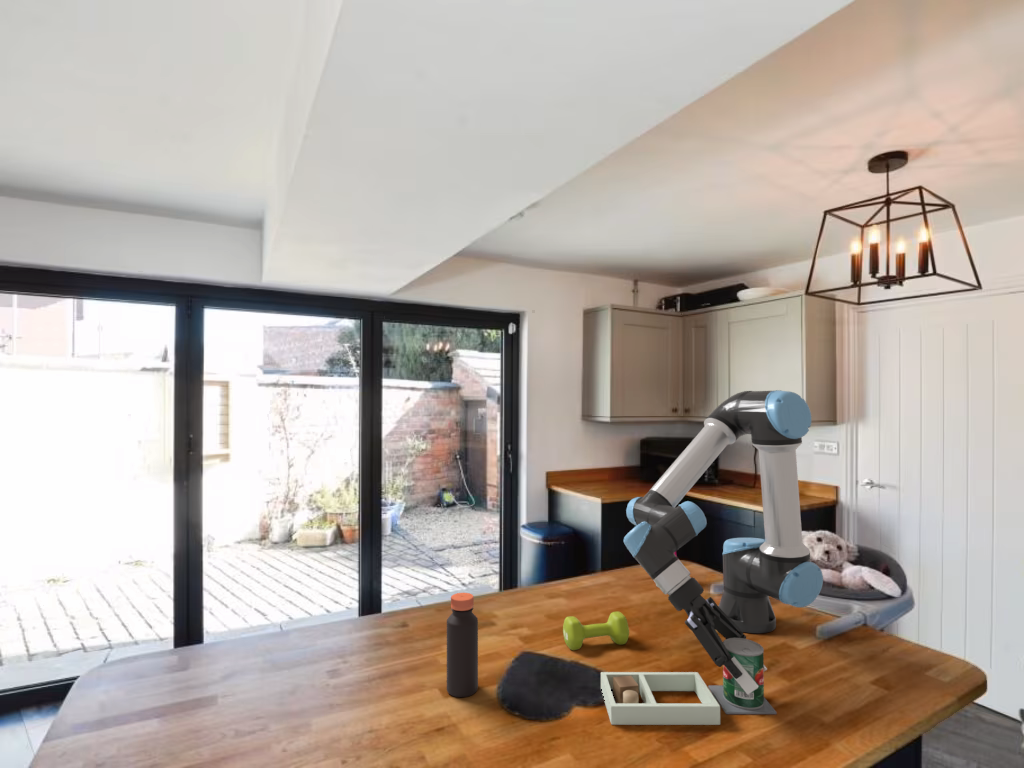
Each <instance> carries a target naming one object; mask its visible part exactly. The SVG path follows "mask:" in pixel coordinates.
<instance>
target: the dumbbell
mask: <svg viewBox="0 0 1024 768" xmlns="http://www.w3.org/2000/svg"><path fill="white" fill-rule="evenodd" d="M608 616H609V617H608V619H607V622H605V623H603V622H601V623H591V624H586V625H585V624H584V625H583V624H582V623H581V621H580V620H579V619H578V618H577V617H576V616H573V615H572V616H570V615H569V616H566V617H565V618H564V620H563V626H562V633H563V634H562V635H563V639H564V642H565V644H566V646H567V648H568V649H570V650H571V651H578V650H580V649H581V648H582V646H583V643H584V640H585V639H590V638H591V639H592V638H596V637H605V636H607V637H610V639H611V641H613V642H614V643H615V644H617V645H625V644H626V643H627V642H628V640H629V637H630V629H629V623H628V619H627V617H626V616H625V615H624V614H623V613H622V612H620V611H612V612H611V613H610V614H609V615H608Z"/></svg>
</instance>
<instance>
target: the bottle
mask: <svg viewBox="0 0 1024 768" xmlns="http://www.w3.org/2000/svg"><path fill="white" fill-rule="evenodd" d="M474 599H475V598H474V595H473V594H472V593H470V592H457V593H454V594H453V595H451V597H450V607H451V608H450V609H451V610H450V611H452V613H451V614H450V615H449V617H447V619H446V691H447V693H448V694H449V695H451V696H452V697H455V698H467V697H470V696H472V695H474V694H475V693H476V692H477V691H478V687H479V620H478V617H477V615H475V613H474V612H473V610H474V607H475V606H474V603H475V602H474Z"/></svg>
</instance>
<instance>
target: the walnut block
mask: <svg viewBox="0 0 1024 768" xmlns="http://www.w3.org/2000/svg"><path fill="white" fill-rule="evenodd" d="M626 690H633V691H636V692H637V693H638V703H639V702H640V700H639V695H640V693H639V687H638V684H637V683H636V681H635V680H634V679H633V678H632V676H622V677H613V691H612V694H613V695H614V696H613V697H615V698H614V700H615V702H616V703H623V692H624V691H626Z"/></svg>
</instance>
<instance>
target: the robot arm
mask: <svg viewBox="0 0 1024 768" xmlns="http://www.w3.org/2000/svg"><path fill="white" fill-rule="evenodd" d="M703 425H704V427H702V429H701V430H700V431H699V432H698V434H697V435H696V436H695V437H694V438H693V439H692V440H691V442H690V443H689V444H688V445H687V446H686V448H685V449H684V450H683V451H682V452H681V453H680V454H679V455H678V457H677V458H676V459H675V460H674V461H673V462H672V463H671V465H670V466H669V467H668V468H667V469H666V471H665V472H663V474H662V475H661V476H660V477H659V479H658V480H657V481H656V482H655V483H654V484H653V486H652V487H651V488H650V489H649V490H648V492H647V493H646V494H644V496H643V497H642V496H636V497H634V498H632V499H631V500H629V502H628V503H627V507H626V509H625V511H626V512H625V513H626V517H627V519H628V521H629V522H630V523H631V524H632V525H634V527H633V528H632V529H631V530H629V532H627V534H626V535H625V536H624V537H623V543H624V545H625V547H626V549H627V550H628V551H629V553H630V554H631V555H632V557H633V558H634V559H635V560H636V561H637V562H638V564H639V565H640V566H641V567H642V569H643V570H644V571H645V572H646V574H647V575H648V576H649V577H650V578H651V579H652V580H653V581H654V583H655V586H656V587H657V588H659V590H660V591H661V592H662V593H663V594H664V595H668V597H667V598H668V599H667V600H668V601H669V602H670V603H671V605H672V606H673V607H674V608H675V610H676V611H677V612H680V611H683V610H684V611H685V613H686V615H687V616H688V618H687V619H686V620H684V624H685V625H686V626H687V628H689V629H690V631H692V633H693V634H694V636H695V638H696V639H697V641H699V643H700V645H701V646H702V648H704V650H705V652H706V654H707V655H709V657H710V659H711V660H712V662H713V663H714V664H715V666H717V667H719V668H721V667H723V665H724V666H725V667H726V668H727V670H728V671H729V672H730V673H731V675H732V676H733V677H734V678H735V680H736V681H737V682H738V683H739V685H740V686H741V687H742V688H743V690H744V691H745V692H746V693H747V695H748V694H749V693H751V692H752V691H754V690H755V689H757V688H758V687H759V686H758V685H757V684H756V682H755V681H754V680H753V679H752V678H751V676H750V675H749V674H748V673H747V671H746V670H745V669H744V668H743V667H742V665H741V664H740V663H739V662H738V661H737V659H736V658H735V657H733V658H732V657H731V655H730V654H729V652H728V650H727V649H726V647H725V645H724V644H723V640H722V638H721V637H720V635H721V636H722V637H723V638H725V640H726V639H729V638H744V639H747V636H746V635H745V634H744V633H750V634H765V633H766V634H767V633H770V632H773V631H775V629H776V628H777V619H776V614H775V612H774V608H773V606H772V602H771V600H770V597H771V598H773V599H775V600H777V601H779V602H781V603H782V604H785V605H790V606H793V607H796V608H804V607H807V606H809V605H811V604H813V603H814V601H816V600H817V597H818V596H819V595H820V592H822V591H821V590H822V588H823V583H824V575H823V571H822V569H821V568H820V567H819V565H817V563H814V562H813V561H811V550H810V548H809V547H808V546H806V545H805V544H804V543H803V532H802V520H801V519H802V518H801V506H800V505H801V502H800V489H799V480H798V479H799V478H798V477H799V476H798V465H797V464H798V461H797V449H798V448H799V447H800V446H801V445H802V444H803V439H802V437H804V436H806V435H807V434H808V432H809V431H810V430H809V428H811V425H812V412H811V408H810V407H809V405H808V403H807V402H806V400H805V398H803V397H801V395H800V394H798V393H796V392H793V391H789V390H780V389H779V390H778V389H777V390H744V391H740V392H737V393H735V394H734V395H731V396H730V397H728V398H727V399H725V400H724V401H722V402H721V403H720V404H719V405H718V406H717V407H716V408H715V409H713V411H711V413H710V414H709V415H708V416H707V417H706V418H705V419H704V421H703ZM745 435H750V437H751V438H750V439H751V445H752V446H753V447H755V448H756V450H757V451H758V457H759V459H758V460H759V473H760V485H761V499H762V500H761V501H762V511H763V512H762V513H763V514H762V515H763V527H764V538H761V537H760V538H759V537H758V538H757V537H732V538H729V539H726V540H725V541H724V542H723V546H722V549H723V551H722V577H723V579H722V580H723V581H722V582H723V591H722V595H721V597H720V601H719V604H717V603H716V601H715V600H714V598H712V597H711V596H710V597H708V598H707V599H705V598H704V597H703V596H702V594H703V593H704V588H703V586H702V585H701V584H700V583H699V582H698V581H697V579H696V578H695V577H693V576H692V577H691V576H690V575H691V572H690V570H689V569H688V568H687V567H686V566H685V565H684V564H683V563H682V561H681V560H680V559H679V557H678V556H677V557H676V556H675V554H674V552H676V553H677V551H678V550H680V549H681V548H682V547H683V546H684V545H686V544H687V543H689V542H690V541H691V540H693V539H694V538H695V537H697V536H698V534H699V533H701V532H702V531H703V530H704V529H705V528H706V527H707V524H708V523H707V517H706V516H705V513H704V511H703V510H702V509H701V508H700V507H699V506H698V505H697V504H696V503H694V502H693V501H689V500H687V501H683V502H682V503H681V504H679V503H680V502H681V501H682V500H683V499H684V497H685V496H686V495H687V493H688V492H689V491H690V490H691V489H692V488H693V486H694V485H695V484H696V483H697V482H698V481H699V479H700V478H701V477H702V476H703V474H704V473H705V472H706V471H708V470H707V469H708V468H709V467H710V466H711V465H712V464H713V462H715V460H716V459H717V458H718V456H719V455H720V454H721V453H722V452H723V450H724V449H726V447H727V446H728V445H733V444H734V443H736V442H737V440H738V439H739V438H741V437H743V436H745ZM677 505H678V506H677ZM718 633H719V634H718ZM766 671H768V668H767V667H766V665H764V673H765V672H766Z"/></svg>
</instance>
